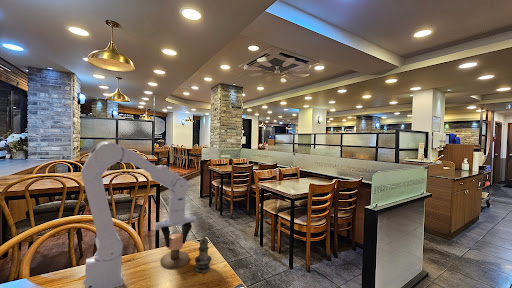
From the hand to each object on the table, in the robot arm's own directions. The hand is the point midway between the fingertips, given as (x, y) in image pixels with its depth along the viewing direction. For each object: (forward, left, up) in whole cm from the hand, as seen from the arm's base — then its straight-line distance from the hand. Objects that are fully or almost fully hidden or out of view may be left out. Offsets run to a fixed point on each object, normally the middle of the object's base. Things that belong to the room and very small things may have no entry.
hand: (175, 244), depth 82 cm
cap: (0, 0, -1) cm, 1 cm away
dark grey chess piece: (+7, -10, -6) cm, 14 cm away
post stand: (0, 0, -6) cm, 6 cm away
